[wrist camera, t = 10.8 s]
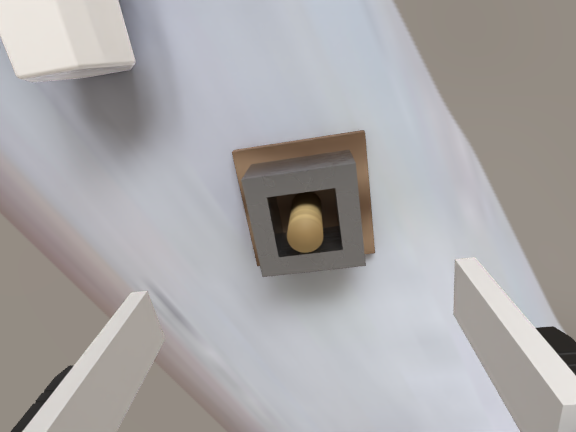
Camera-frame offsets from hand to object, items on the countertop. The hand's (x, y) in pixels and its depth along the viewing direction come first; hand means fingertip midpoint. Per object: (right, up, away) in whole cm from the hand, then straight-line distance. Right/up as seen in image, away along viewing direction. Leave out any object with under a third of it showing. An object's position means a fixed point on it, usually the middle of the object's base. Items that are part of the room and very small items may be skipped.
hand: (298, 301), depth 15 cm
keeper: (+1, +5, +19) cm, 20 cm away
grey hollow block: (+1, +5, +18) cm, 19 cm away
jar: (-16, +14, +12) cm, 25 cm away
